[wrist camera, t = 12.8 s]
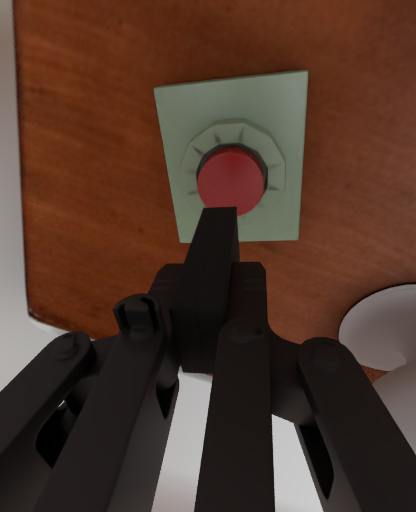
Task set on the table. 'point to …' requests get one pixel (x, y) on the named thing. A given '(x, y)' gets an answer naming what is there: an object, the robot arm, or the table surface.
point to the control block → (237, 145)
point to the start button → (231, 179)
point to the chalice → (388, 349)
